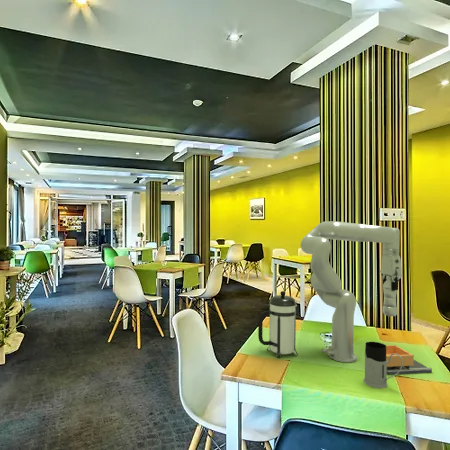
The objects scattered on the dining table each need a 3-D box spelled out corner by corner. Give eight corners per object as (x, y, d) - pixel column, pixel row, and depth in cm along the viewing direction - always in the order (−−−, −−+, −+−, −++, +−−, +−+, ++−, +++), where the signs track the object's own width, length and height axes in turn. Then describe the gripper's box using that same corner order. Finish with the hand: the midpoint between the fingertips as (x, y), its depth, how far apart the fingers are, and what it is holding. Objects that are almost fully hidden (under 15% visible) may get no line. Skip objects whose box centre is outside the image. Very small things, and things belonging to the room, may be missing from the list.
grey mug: (369, 375, 137) (369, 339, 137) (406, 388, 126) (406, 349, 127) (359, 382, 131) (359, 344, 131) (397, 396, 121) (398, 355, 121)
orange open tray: (386, 370, 138) (387, 356, 138) (370, 359, 150) (370, 345, 150) (413, 369, 140) (413, 355, 140) (395, 357, 152) (395, 345, 152)
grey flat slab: (387, 374, 138) (387, 370, 138) (370, 362, 151) (370, 358, 151) (431, 372, 140) (431, 368, 140) (410, 360, 153) (410, 356, 153)
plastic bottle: (399, 318, 162) (399, 276, 162) (384, 317, 163) (384, 276, 163) (395, 314, 168) (395, 275, 168) (380, 313, 169) (381, 274, 169)
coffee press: (271, 345, 171) (272, 286, 171) (301, 351, 163) (302, 290, 163) (257, 356, 156) (258, 292, 156) (290, 364, 148) (291, 296, 148)
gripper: (409, 254, 157) (408, 292, 157) (387, 251, 175) (386, 285, 174) (394, 254, 156) (394, 292, 156) (373, 251, 174) (373, 285, 174)
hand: (390, 288), depth 165 cm, fingers closed on plastic bottle, 6 cm apart
